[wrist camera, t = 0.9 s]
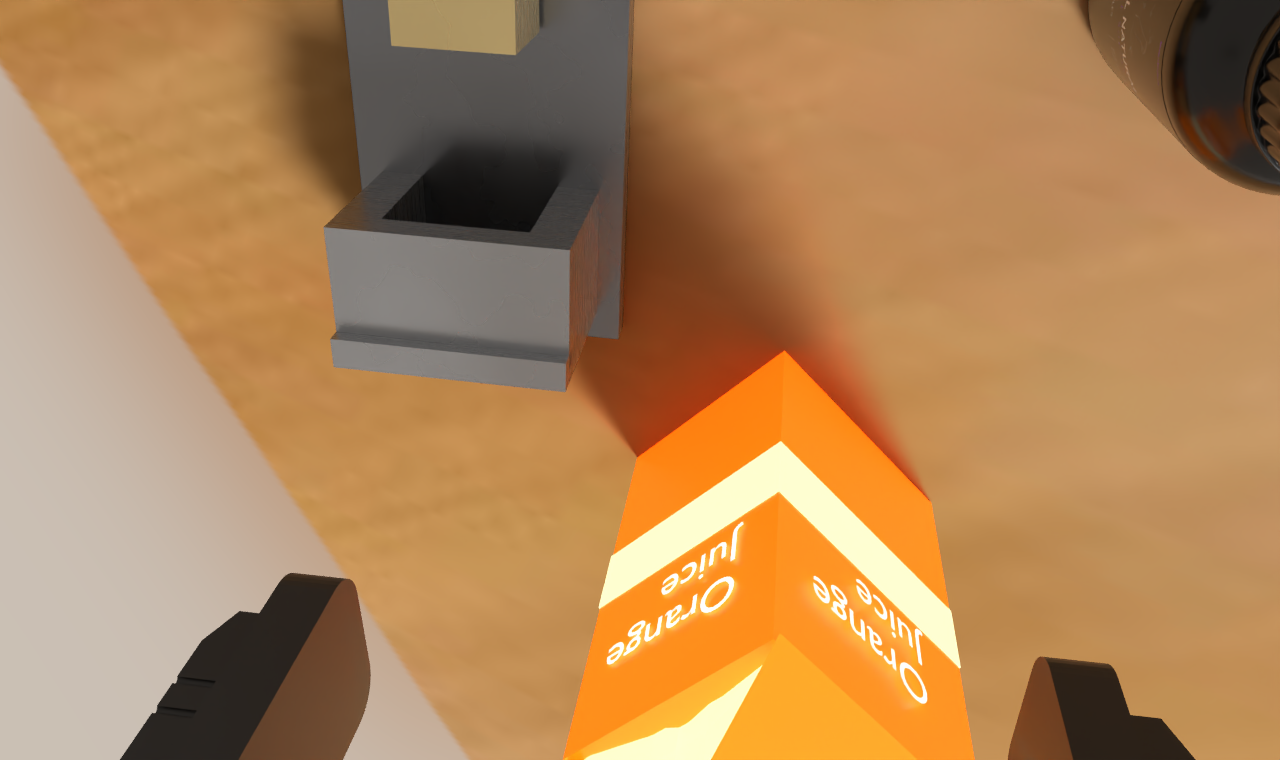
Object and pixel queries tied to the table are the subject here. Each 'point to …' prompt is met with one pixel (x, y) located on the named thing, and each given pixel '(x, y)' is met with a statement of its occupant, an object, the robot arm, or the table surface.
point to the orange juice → (772, 596)
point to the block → (464, 24)
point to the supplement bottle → (1203, 77)
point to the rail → (485, 200)
